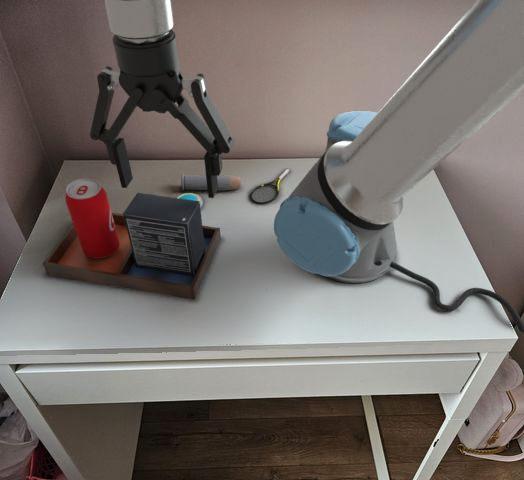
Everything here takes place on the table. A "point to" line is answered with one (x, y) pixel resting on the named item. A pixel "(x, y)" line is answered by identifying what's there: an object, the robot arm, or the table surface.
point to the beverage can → (92, 217)
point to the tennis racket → (270, 190)
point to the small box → (165, 233)
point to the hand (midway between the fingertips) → (169, 188)
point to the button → (191, 197)
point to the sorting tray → (126, 265)
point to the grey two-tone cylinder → (201, 183)
